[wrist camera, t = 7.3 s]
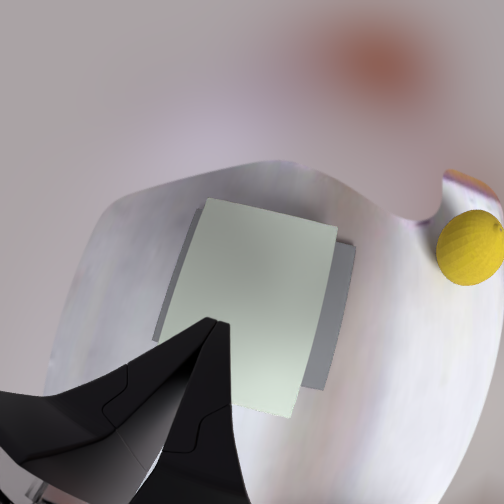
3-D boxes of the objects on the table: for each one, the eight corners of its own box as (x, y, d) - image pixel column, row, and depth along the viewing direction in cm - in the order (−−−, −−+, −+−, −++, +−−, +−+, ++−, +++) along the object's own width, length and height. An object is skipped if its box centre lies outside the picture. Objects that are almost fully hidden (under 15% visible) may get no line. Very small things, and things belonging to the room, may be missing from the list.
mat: (321, 389, 18) (323, 390, 17) (155, 340, 20) (151, 339, 19) (353, 249, 21) (356, 246, 20) (198, 211, 23) (196, 208, 22)
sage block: (289, 418, 12) (338, 227, 15) (149, 373, 13) (208, 197, 17) (284, 399, 17) (323, 253, 20) (177, 366, 18) (221, 228, 21)
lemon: (425, 224, 21) (474, 179, 13) (468, 248, 20) (520, 213, 12) (415, 281, 20) (473, 250, 12) (460, 302, 19) (522, 281, 11)
